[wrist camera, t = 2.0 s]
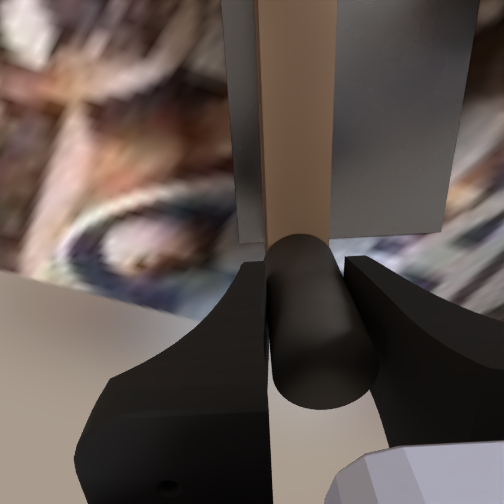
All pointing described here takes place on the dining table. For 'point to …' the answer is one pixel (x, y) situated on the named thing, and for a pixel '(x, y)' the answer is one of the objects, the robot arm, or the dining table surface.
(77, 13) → the dining table surface
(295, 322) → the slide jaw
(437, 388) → the robot arm
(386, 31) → the vice frame
